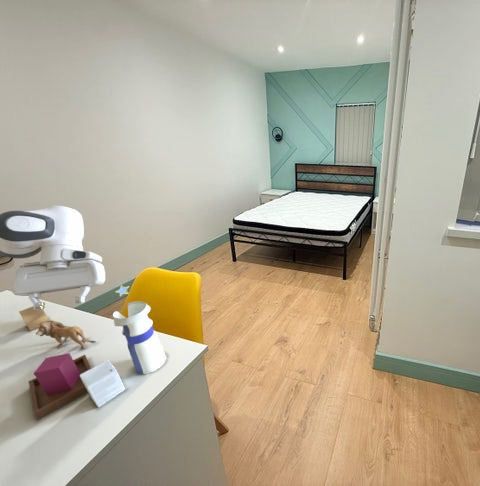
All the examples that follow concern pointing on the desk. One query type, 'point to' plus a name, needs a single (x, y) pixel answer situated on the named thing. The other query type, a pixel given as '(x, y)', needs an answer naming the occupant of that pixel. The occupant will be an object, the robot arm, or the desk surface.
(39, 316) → the base block
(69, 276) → the robot arm
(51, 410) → the tray
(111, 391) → the product box
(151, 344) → the white milk jug
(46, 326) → the lion figurine
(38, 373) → the top block
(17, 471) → the desk surface
